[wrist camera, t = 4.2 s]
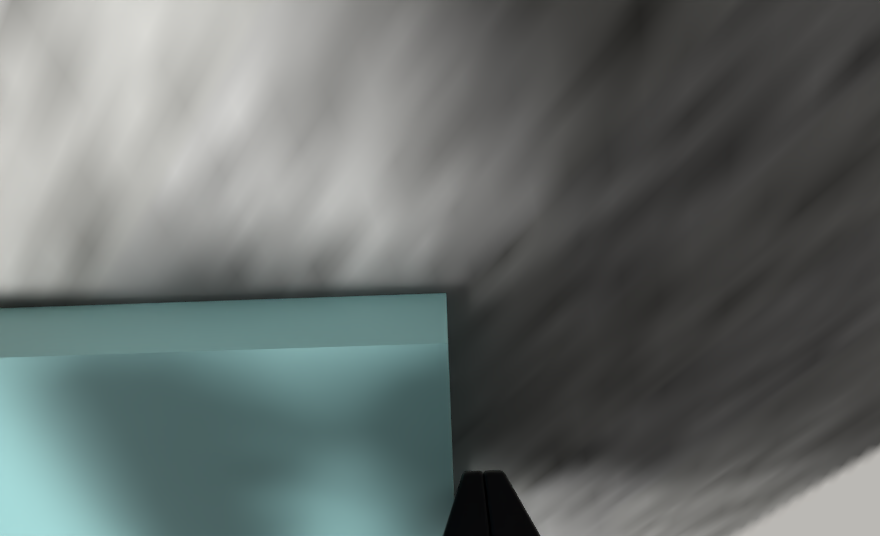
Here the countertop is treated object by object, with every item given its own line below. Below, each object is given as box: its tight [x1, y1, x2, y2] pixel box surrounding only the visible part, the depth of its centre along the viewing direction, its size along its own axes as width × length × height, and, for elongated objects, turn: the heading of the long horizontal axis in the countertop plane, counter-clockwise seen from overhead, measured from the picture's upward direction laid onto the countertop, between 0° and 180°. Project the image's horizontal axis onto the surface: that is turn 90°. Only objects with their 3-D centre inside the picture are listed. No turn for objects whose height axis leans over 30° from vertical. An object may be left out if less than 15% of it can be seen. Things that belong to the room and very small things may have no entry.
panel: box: [0, 293, 454, 536], centre depth 9 cm, size 8×12×2 cm, turn 92°
